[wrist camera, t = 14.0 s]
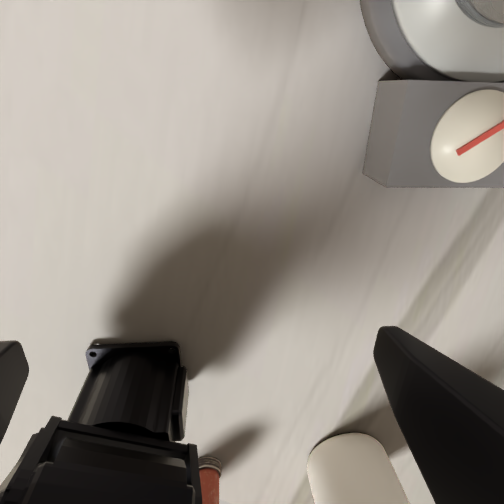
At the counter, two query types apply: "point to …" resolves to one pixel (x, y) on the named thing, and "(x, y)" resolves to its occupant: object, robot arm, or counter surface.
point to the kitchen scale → (436, 97)
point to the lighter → (209, 479)
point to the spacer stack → (484, 11)
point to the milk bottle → (353, 472)
